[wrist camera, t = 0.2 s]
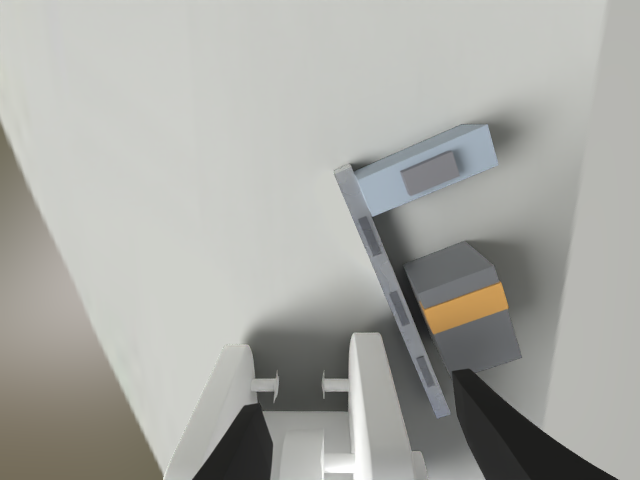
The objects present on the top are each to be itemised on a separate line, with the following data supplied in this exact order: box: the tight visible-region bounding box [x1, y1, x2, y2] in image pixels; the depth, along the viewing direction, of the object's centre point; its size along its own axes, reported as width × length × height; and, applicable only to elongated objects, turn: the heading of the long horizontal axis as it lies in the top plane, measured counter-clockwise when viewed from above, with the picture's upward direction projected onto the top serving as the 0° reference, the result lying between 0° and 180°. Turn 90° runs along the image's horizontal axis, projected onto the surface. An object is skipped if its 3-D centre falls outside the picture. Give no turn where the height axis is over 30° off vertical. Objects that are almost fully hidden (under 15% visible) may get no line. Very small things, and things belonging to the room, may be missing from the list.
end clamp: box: [353, 124, 499, 217], centre depth 18 cm, size 2×6×4 cm, turn 114°
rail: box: [334, 164, 451, 418], centre depth 21 cm, size 18×1×2 cm, turn 24°
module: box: [403, 241, 522, 380], centre depth 20 cm, size 6×4×4 cm
